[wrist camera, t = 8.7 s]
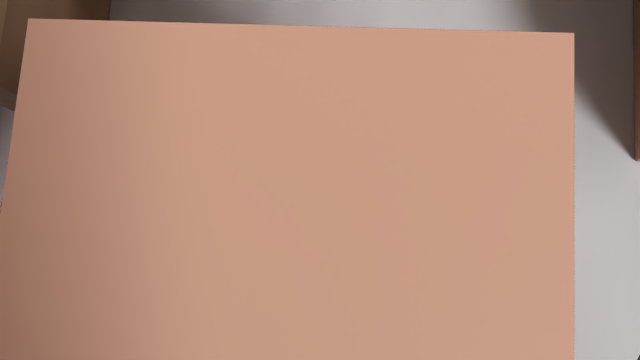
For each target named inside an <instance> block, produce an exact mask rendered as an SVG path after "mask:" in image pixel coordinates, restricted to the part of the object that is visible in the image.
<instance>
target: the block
mask: <svg viewBox="0 0 640 360" xmlns="http://www.w3.org/2000/svg"><path fill="white" fill-rule="evenodd" d="M0 360H574V33H558V32H521V31H483V30H445V29H408V28H370V27H332V26H295V25H257V24H219V23H182V22H144V21H106V20H69V19H31V18H28V25H27V32H26V38H25V45H24V52H23V59H22V66H21V73H20V80H19V87H18V94H17V100H16V107H15V114H14V121H13V128H12V135H11V142H10V149H9V156H8V162H7V169H6V176H5V183H4V190H3V197H2V204H1V211H0Z"/></svg>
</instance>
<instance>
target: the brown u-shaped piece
mask: <svg viewBox="0 0 640 360" xmlns="http://www.w3.org/2000/svg"><path fill="white" fill-rule="evenodd" d="M110 2H111V0H0V105H3V106H5V107H7V108H9V109H11V110H13V111H15V107H16V100H17V94H18V87H19V80H20V73H21V66H22V59H23V52H24V45H25V38H26V32H27V25H28V18H31V19H69V20H106V21H108V18H109V10H110ZM633 22H634V99H635V161H640V0H633Z"/></svg>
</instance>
